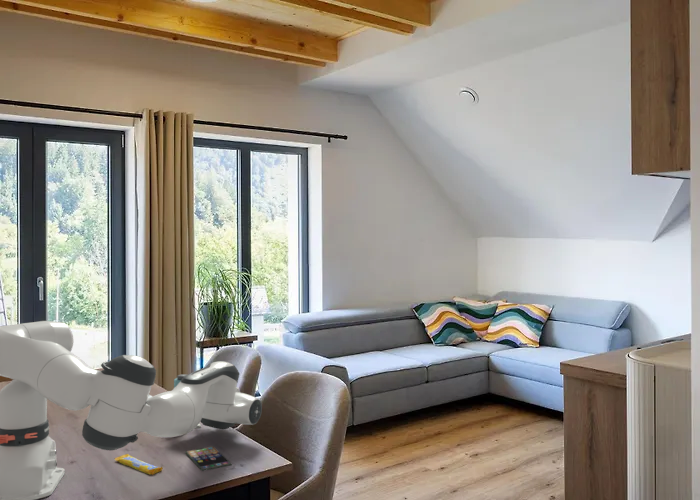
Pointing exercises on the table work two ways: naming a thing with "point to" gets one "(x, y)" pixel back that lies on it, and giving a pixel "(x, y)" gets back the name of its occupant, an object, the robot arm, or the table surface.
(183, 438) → the table surface
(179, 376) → the bottle
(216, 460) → the smartphone
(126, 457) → the candy bar
